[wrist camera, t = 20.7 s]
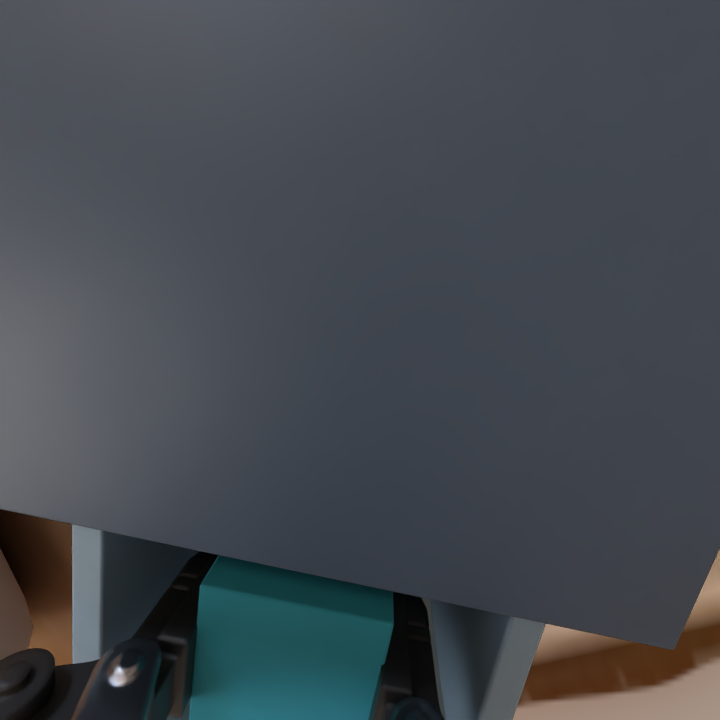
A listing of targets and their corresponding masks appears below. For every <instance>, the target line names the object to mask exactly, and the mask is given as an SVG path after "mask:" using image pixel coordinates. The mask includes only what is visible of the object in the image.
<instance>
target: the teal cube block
mask: <svg viewBox="0 0 720 720" xmlns="http://www.w3.org/2000/svg"><path fill="white" fill-rule="evenodd" d="M393 626H394V611H393V591H388V590H384V589H379V588H374V587H369V586H364V585H360V584H355V583H350V582H345V581H341V580H336V579H331V578H326V577H321V576H317V575H312V574H307V573H302V572H298V571H293V570H288V569H283V568H278V567H274V566H269V565H264V564H259V563H255V562H250V561H245V560H240V559H235V558H231V557H226V556H221V555H218V557H217V558H216V560H215V562H214V563H213V565H212V567H211V568H210V570H209V571H208V573H207V575H206V576H205V578H204V580H203V581H202V583H201V585H200V590H199V602H198V614H197V632H196V644H195V656H194V668H193V679H192V691H191V699H190V711H189V720H369V716H370V711H371V707H372V703H373V699H374V694H375V690H376V686H377V682H378V677H379V673H380V669H381V665H383V664H384V663H385V661H386V656H387V652H388V648H389V643H390V639H391V635H392V631H393Z"/></svg>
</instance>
